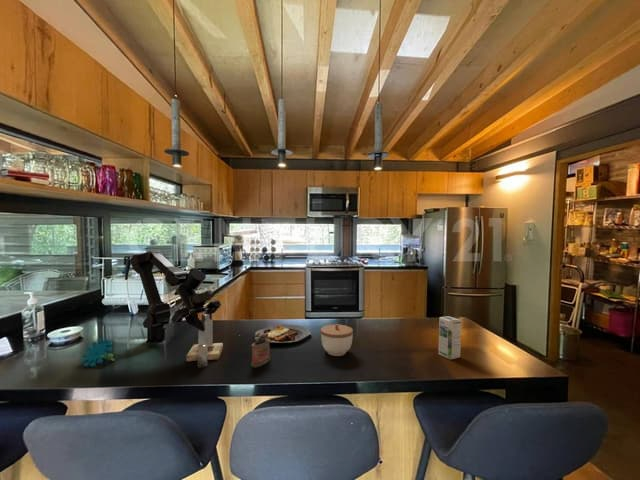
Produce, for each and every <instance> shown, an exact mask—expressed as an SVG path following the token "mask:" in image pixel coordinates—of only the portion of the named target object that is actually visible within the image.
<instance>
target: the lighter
mask: <svg viewBox="0 0 640 480" xmlns="http://www.w3.org/2000/svg"><path fill="white" fill-rule="evenodd" d="M266 337H268V333H265V334H262V335H258V336H257V337H254V342H253V343H252V344H251V367H252V368H258V367H261V366H264V365H265V364H267V363H268V362H270V360H271V357H270V343H269V342H270V339H265V338H266Z"/></svg>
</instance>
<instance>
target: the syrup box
mask: <svg viewBox="0 0 640 480" xmlns="http://www.w3.org/2000/svg"><path fill="white" fill-rule="evenodd" d="M438 320H439V321H438V322H439V323H438V355H439V356H442V357H444V358H446V359H448V360H454V359H458V358H461V347H462V346H461V341H462V338H461V336H462V319H458V318H456V317H452V316H449V315H448V316H447V315H446V316H440V317H439V318H438Z"/></svg>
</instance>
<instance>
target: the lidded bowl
mask: <svg viewBox="0 0 640 480" xmlns="http://www.w3.org/2000/svg"><path fill="white" fill-rule="evenodd" d="M353 334H354V330H353V328H352V327H350V326H348V325H345V324H344V325H343V324H338V323H335V324H326V325H324V326H322V327H321V328H320V339H321V345H322V346H323V349H324V350H325V352H326V353H327V354H328V355H330V356H333V357H341V356H344V355H346V353H347V352H348V351H349V350H350V349H351V346H352V343H353Z"/></svg>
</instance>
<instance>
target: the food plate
mask: <svg viewBox="0 0 640 480" xmlns="http://www.w3.org/2000/svg"><path fill="white" fill-rule="evenodd" d="M287 332H288V333H287ZM265 333H268V337H266V338H265V339H270V342H269V344H270V343H271V344H292V343H296V342H301V341H302V340H304V339H305V338H307V337H309V335H311V336H312V332H311V331H310V329H308V327H304V326H301V325H296V324H275V325H268V326H264V327H262V328H261V329H258V330H257V331H256V332H254V338H256V337H257V336H258V335H262V334H265ZM296 335H300V336H299V337H298V338H297V336H296Z"/></svg>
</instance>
